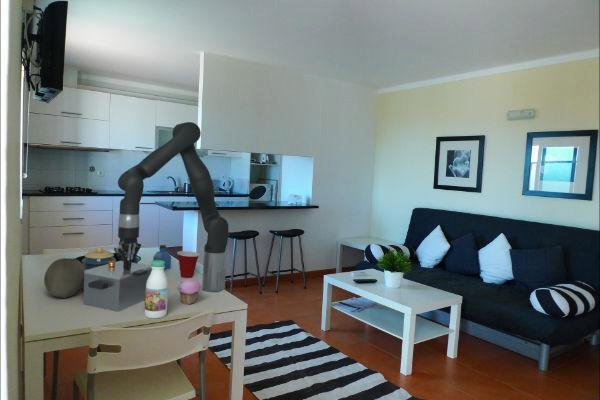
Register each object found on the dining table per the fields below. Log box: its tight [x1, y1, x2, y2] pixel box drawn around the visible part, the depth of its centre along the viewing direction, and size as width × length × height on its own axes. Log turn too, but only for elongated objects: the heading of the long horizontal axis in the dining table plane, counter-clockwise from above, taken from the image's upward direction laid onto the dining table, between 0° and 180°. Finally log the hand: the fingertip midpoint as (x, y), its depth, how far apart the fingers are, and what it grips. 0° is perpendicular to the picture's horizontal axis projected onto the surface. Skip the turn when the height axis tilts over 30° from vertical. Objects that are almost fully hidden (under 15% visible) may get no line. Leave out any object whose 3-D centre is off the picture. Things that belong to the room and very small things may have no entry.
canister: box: [81, 246, 117, 291], centre depth 175 cm, size 13×13×18 cm
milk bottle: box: [144, 260, 169, 320], centre depth 149 cm, size 8×8×20 cm
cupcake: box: [177, 277, 202, 305], centre depth 165 cm, size 9×9×10 cm
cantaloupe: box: [43, 257, 86, 299], centre depth 162 cm, size 14×14×15 cm
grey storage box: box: [82, 269, 152, 312], centre depth 160 cm, size 16×22×12 cm
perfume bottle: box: [152, 244, 172, 271], centre depth 213 cm, size 6×6×12 cm
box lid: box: [84, 260, 152, 280], centre depth 160 cm, size 19×19×3 cm
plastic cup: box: [177, 250, 201, 279], centre depth 201 cm, size 11×11×12 cm
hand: (127, 269), depth 160 cm, fingers closed
